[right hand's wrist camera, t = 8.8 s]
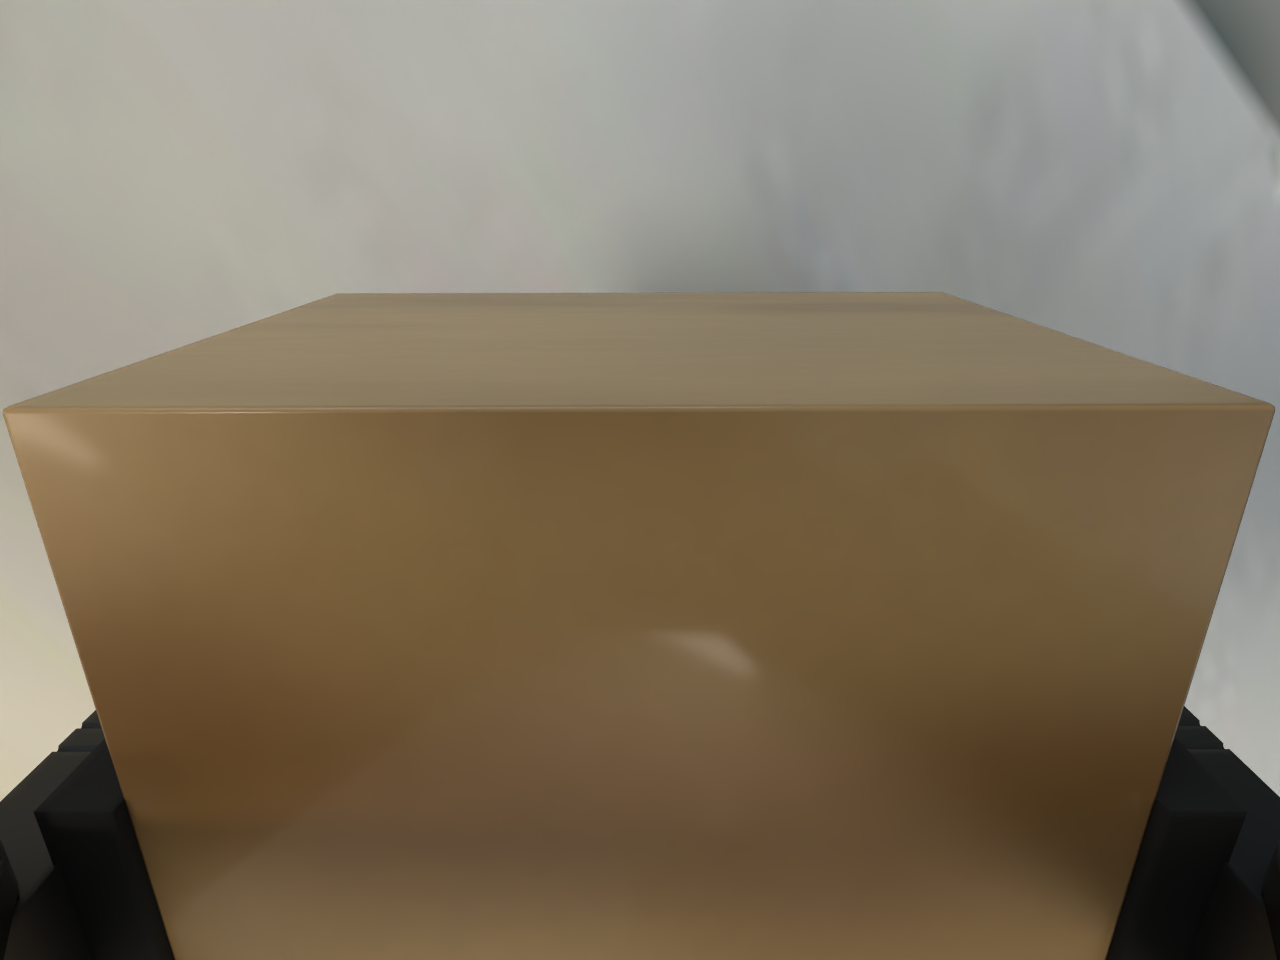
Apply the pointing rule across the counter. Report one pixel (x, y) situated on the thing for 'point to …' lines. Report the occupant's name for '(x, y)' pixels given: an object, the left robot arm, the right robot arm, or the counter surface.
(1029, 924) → the long beam
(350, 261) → the counter surface
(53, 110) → the counter surface
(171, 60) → the counter surface
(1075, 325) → the counter surface
